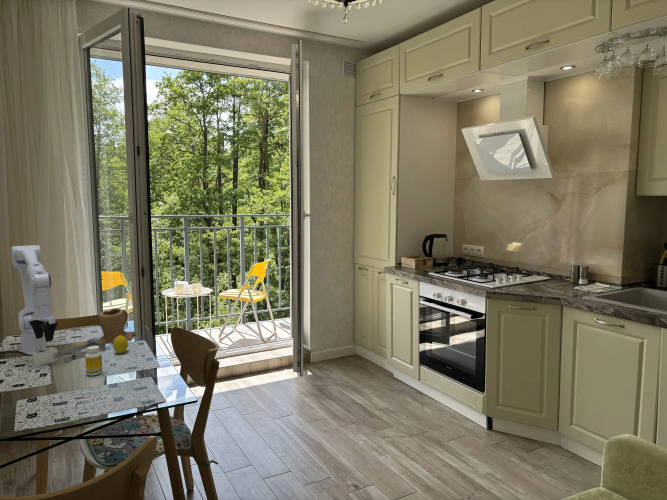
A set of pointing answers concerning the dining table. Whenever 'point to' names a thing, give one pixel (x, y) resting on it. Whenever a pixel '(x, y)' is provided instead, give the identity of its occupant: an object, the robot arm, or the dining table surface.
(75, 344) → the brass key tag
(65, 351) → the socket
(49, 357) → the block
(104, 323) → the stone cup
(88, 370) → the supplement bottle
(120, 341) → the lemon
